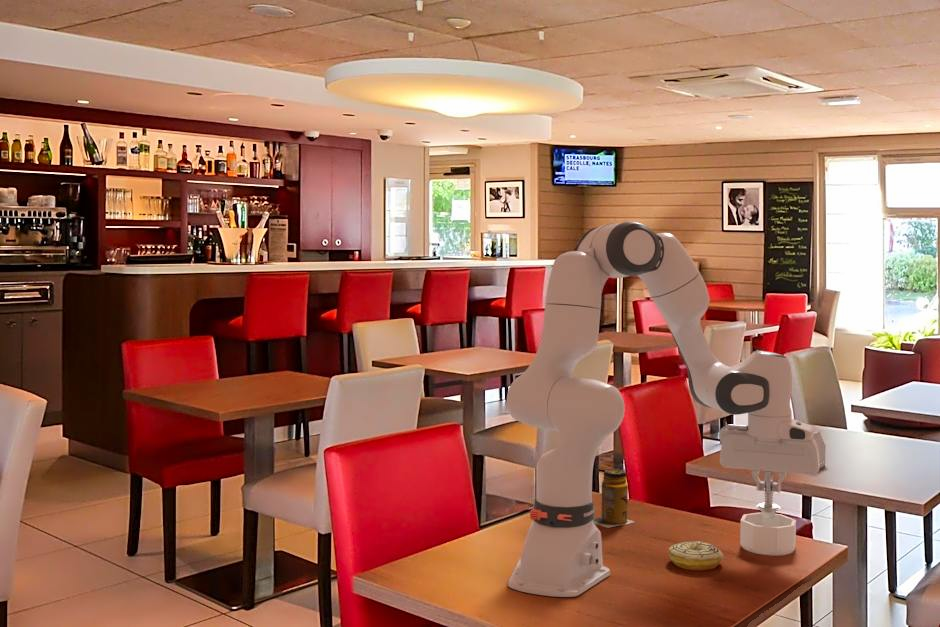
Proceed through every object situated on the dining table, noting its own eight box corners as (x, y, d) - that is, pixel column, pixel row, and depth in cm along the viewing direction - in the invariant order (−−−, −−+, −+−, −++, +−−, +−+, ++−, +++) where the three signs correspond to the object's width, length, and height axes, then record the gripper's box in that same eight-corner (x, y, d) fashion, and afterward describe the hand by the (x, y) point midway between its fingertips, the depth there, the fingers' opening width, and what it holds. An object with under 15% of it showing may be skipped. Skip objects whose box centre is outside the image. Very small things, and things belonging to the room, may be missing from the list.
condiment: (635, 522, 224) (635, 472, 223) (608, 528, 220) (608, 477, 219) (614, 515, 230) (614, 466, 230) (587, 521, 226) (587, 471, 225)
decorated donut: (731, 563, 196) (732, 545, 196) (705, 577, 188) (706, 558, 188) (686, 552, 203) (686, 534, 203) (659, 564, 195) (659, 546, 195)
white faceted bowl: (792, 558, 198) (792, 529, 198) (737, 551, 202) (738, 524, 202) (796, 543, 208) (797, 516, 208) (745, 537, 212) (745, 510, 212)
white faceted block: (825, 465, 280) (825, 432, 279) (816, 469, 275) (816, 435, 274) (812, 463, 282) (813, 430, 282) (803, 468, 277) (804, 433, 277)
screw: (751, 514, 206) (770, 511, 208) (766, 520, 202) (785, 518, 204) (752, 455, 205) (771, 453, 207) (767, 460, 201) (785, 458, 202)
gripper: (717, 426, 205) (716, 489, 206) (818, 433, 197) (817, 499, 198) (721, 421, 210) (721, 482, 211) (820, 427, 202) (819, 491, 203)
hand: (768, 491), depth 204 cm, fingers closed on screw, 2 cm apart
